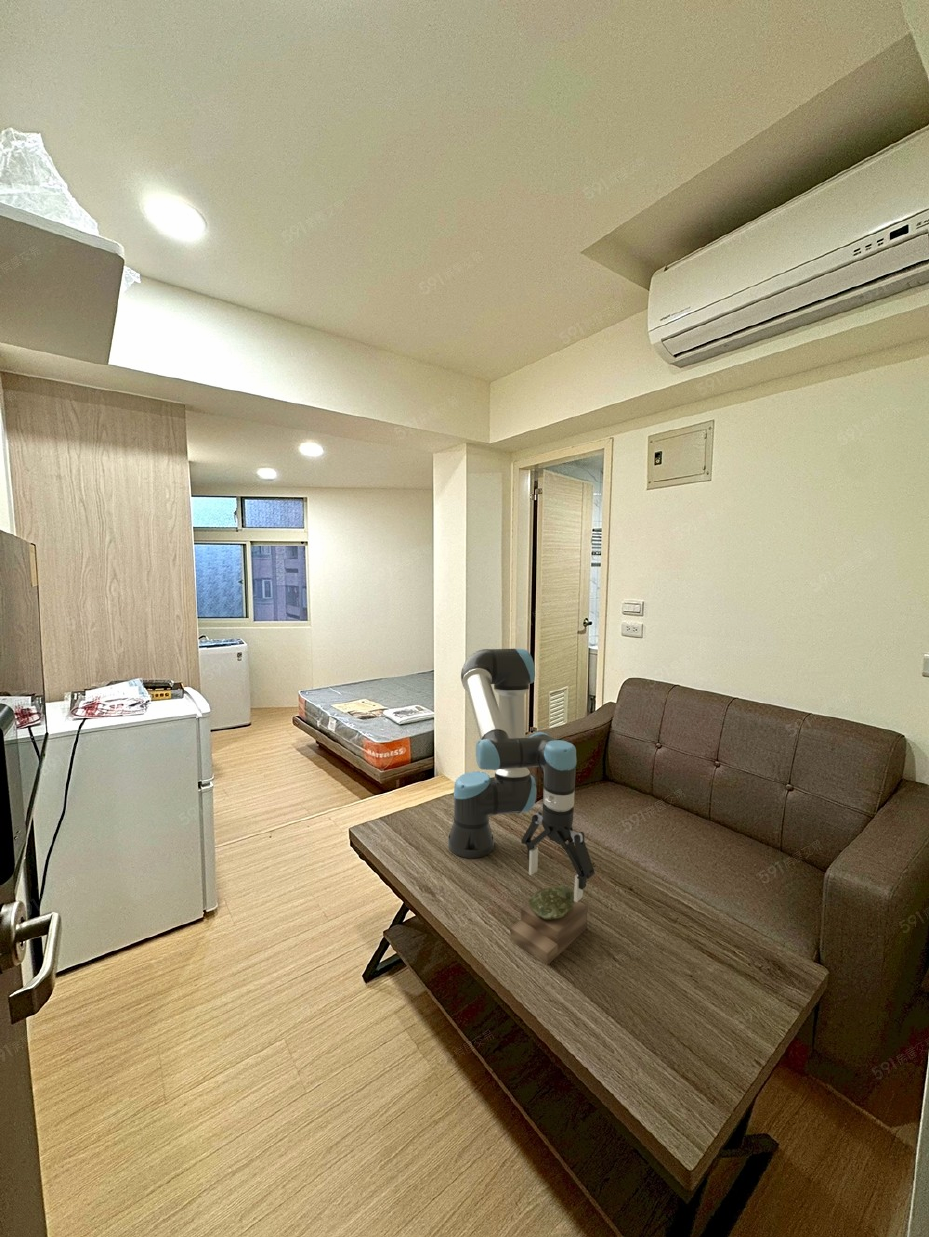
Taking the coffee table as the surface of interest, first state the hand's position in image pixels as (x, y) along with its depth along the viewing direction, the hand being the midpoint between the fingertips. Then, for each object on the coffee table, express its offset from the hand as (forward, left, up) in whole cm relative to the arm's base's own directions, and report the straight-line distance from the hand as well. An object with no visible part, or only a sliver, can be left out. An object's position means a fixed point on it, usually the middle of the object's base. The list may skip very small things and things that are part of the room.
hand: (554, 885), depth 120 cm
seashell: (0, -1, -6) cm, 6 cm away
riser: (0, -3, -11) cm, 12 cm away
